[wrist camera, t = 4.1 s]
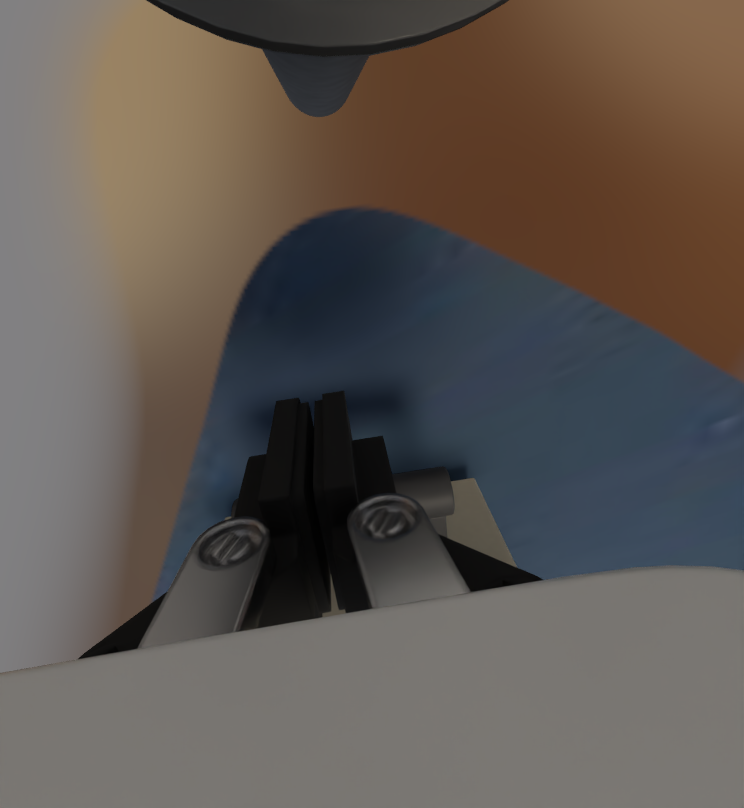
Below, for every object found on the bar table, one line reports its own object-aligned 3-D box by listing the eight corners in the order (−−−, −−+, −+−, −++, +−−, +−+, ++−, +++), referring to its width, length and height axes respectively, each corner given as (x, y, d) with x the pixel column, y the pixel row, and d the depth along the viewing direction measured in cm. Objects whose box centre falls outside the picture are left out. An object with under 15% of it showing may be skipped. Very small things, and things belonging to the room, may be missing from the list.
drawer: (196, 435, 19) (129, 590, 13) (472, 393, 20) (554, 521, 13) (286, 693, 28) (275, 871, 21) (478, 660, 28) (530, 824, 21)
